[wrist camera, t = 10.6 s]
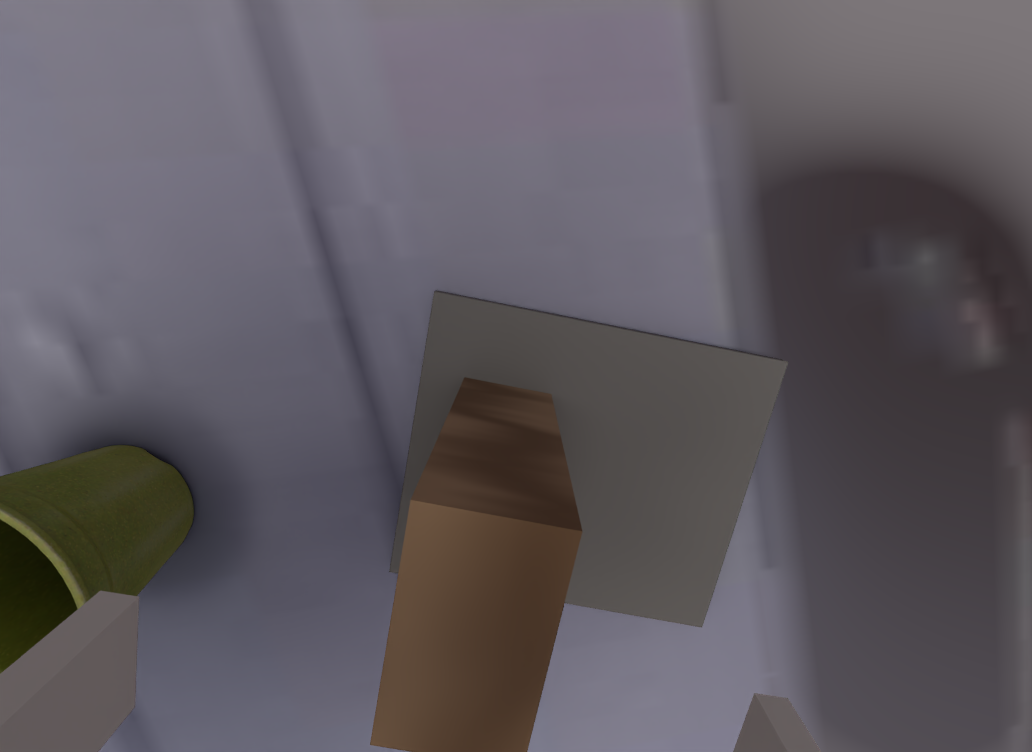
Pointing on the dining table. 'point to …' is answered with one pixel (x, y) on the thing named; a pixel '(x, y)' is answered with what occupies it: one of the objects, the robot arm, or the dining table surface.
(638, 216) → the dining table surface
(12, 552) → the plant pot
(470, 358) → the rubber mat
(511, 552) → the walnut block
